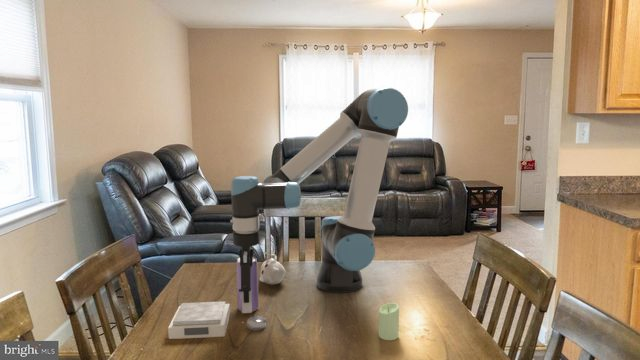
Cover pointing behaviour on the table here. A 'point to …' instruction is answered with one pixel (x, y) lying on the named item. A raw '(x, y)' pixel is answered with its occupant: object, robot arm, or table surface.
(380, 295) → the table surface
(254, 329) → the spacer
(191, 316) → the pan
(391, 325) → the candle
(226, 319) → the base
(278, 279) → the cat figurine
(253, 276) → the beverage can
